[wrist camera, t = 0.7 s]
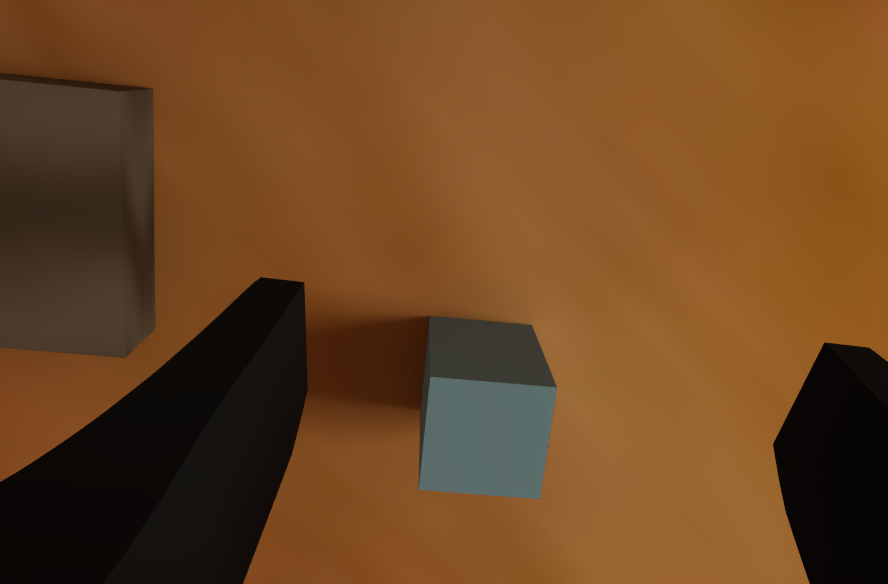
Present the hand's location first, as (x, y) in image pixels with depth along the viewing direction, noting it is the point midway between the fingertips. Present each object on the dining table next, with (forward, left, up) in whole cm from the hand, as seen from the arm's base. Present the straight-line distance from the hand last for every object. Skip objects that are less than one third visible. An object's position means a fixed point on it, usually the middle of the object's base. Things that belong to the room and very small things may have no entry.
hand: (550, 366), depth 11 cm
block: (-7, -1, -18) cm, 19 cm away
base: (-2, +16, -18) cm, 24 cm away
